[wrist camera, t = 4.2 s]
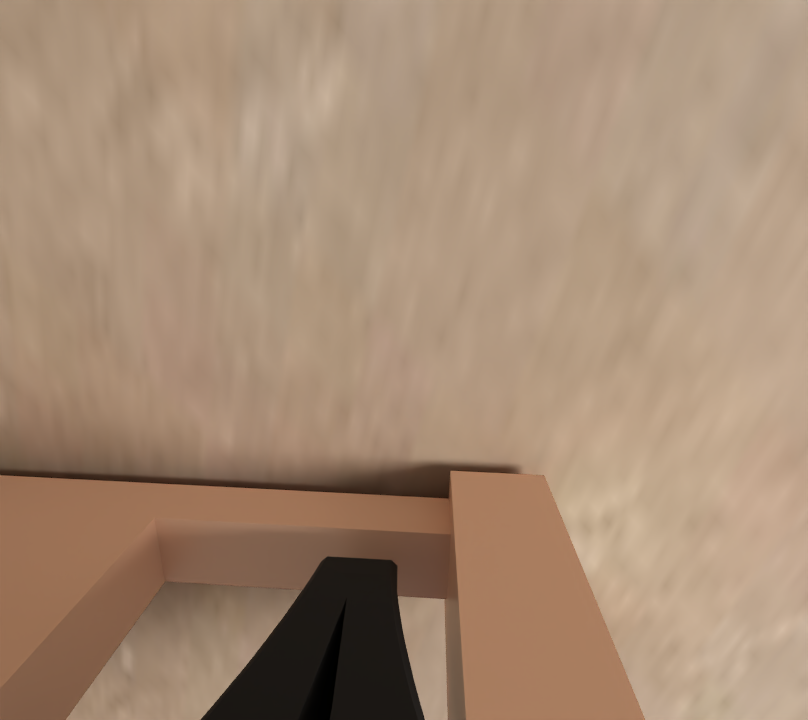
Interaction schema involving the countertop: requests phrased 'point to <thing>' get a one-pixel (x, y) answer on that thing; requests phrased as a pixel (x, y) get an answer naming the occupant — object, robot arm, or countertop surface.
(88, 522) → the stepped wooden plank
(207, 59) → the countertop surface
